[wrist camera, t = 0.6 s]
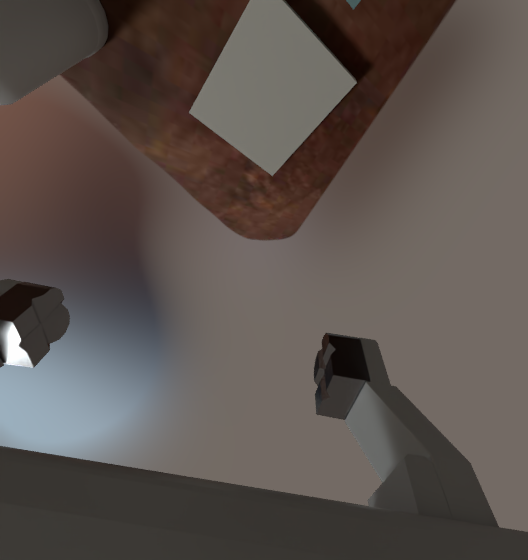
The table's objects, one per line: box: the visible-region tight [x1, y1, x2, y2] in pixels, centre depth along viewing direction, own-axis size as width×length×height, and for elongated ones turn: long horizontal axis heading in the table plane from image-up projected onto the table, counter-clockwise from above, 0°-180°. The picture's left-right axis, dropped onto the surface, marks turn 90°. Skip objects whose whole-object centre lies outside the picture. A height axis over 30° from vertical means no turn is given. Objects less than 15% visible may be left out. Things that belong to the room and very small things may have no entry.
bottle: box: [0, 0, 108, 105], centre depth 30 cm, size 8×8×30 cm
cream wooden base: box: [189, 0, 357, 176], centre depth 43 cm, size 18×16×3 cm
